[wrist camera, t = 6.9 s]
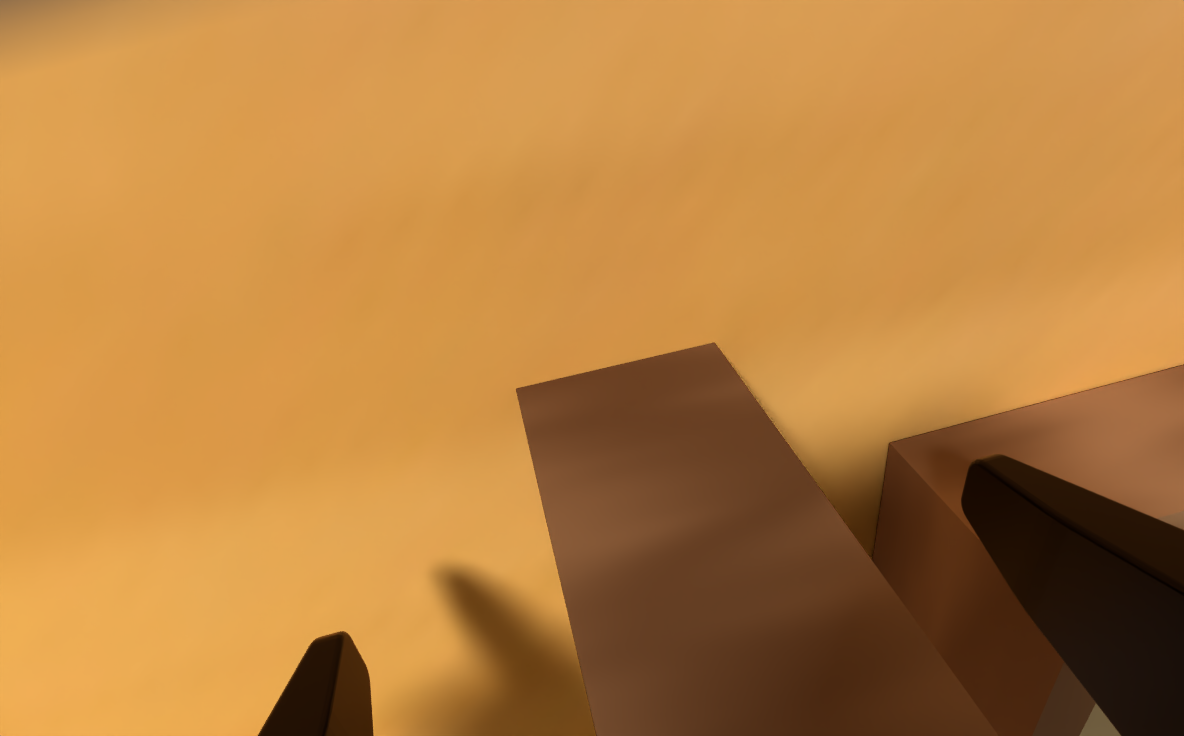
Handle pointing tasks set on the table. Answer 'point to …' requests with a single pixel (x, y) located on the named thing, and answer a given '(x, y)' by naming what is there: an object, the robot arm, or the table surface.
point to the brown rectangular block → (719, 568)
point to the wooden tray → (965, 569)
